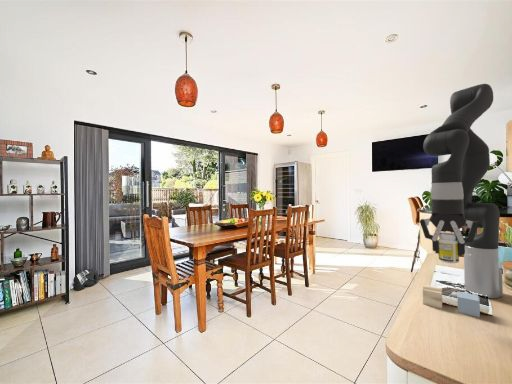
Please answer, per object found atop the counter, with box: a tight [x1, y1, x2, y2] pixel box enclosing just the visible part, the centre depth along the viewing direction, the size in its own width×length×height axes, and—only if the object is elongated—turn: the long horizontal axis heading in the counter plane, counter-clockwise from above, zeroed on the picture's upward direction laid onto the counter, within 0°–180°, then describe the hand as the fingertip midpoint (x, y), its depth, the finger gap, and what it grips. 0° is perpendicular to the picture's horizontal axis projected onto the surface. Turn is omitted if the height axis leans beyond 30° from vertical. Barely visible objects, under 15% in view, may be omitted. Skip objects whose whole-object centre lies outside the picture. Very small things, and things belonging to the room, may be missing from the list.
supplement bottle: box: [437, 231, 460, 264], centre depth 70 cm, size 5×5×8 cm
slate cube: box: [456, 290, 481, 318], centre depth 73 cm, size 5×5×5 cm
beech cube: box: [422, 284, 443, 309], centre depth 79 cm, size 5×5×5 cm
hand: (448, 253), depth 70 cm, fingers closed on supplement bottle, 4 cm apart
